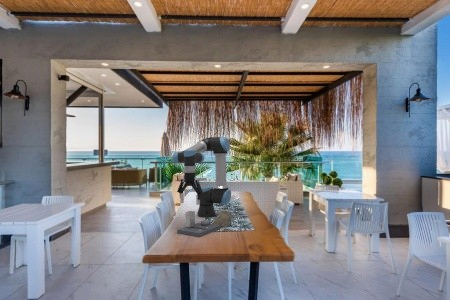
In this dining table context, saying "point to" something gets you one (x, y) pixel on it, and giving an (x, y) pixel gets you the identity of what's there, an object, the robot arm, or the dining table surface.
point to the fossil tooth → (223, 219)
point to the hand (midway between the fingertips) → (189, 203)
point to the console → (199, 229)
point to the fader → (190, 219)
